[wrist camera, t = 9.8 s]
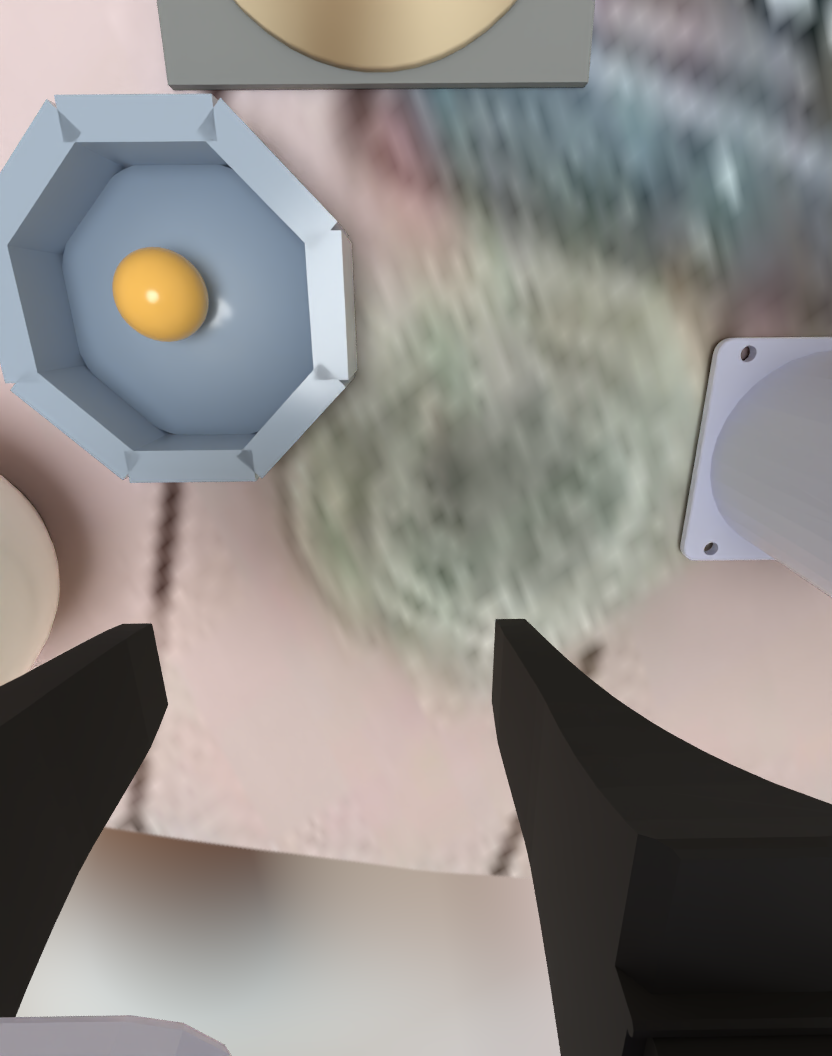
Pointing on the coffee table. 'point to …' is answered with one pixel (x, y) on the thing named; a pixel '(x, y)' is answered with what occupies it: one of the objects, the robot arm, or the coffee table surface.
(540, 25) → the mat
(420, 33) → the lid
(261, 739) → the coffee table surface
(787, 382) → the robot arm
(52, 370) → the bowl
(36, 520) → the lidded jar
